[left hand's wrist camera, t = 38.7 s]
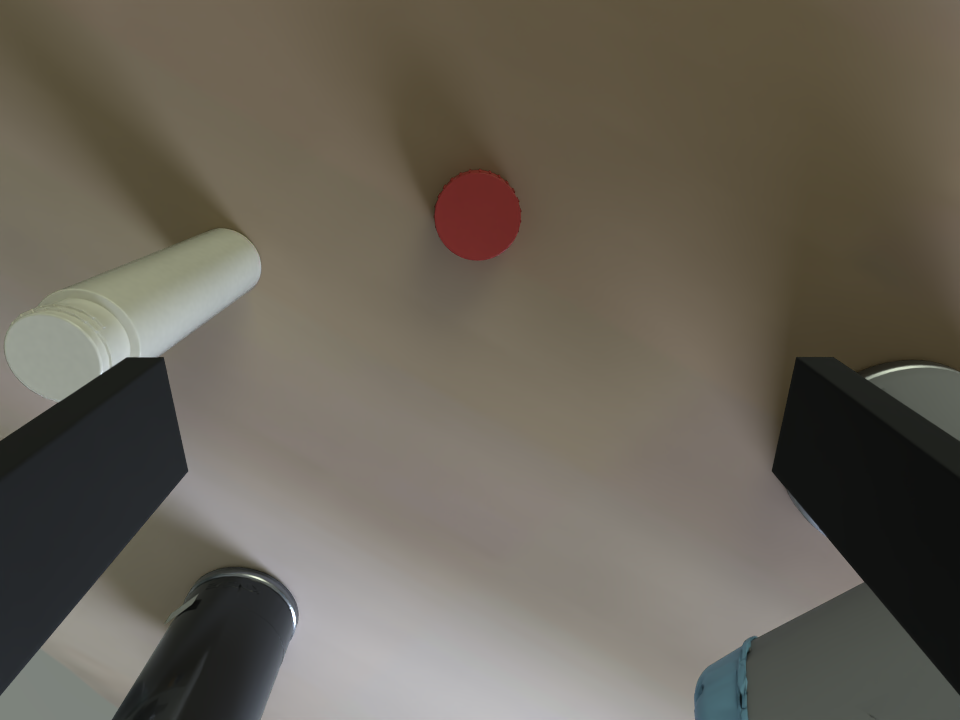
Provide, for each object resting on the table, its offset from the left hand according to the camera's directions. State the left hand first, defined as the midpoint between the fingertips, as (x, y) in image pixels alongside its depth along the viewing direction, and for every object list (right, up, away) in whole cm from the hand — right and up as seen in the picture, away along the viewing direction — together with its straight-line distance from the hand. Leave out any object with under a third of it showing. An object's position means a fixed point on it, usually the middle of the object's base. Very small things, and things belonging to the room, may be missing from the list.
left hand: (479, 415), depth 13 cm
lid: (0, +10, +24) cm, 26 cm away
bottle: (-17, +8, +27) cm, 33 cm away
